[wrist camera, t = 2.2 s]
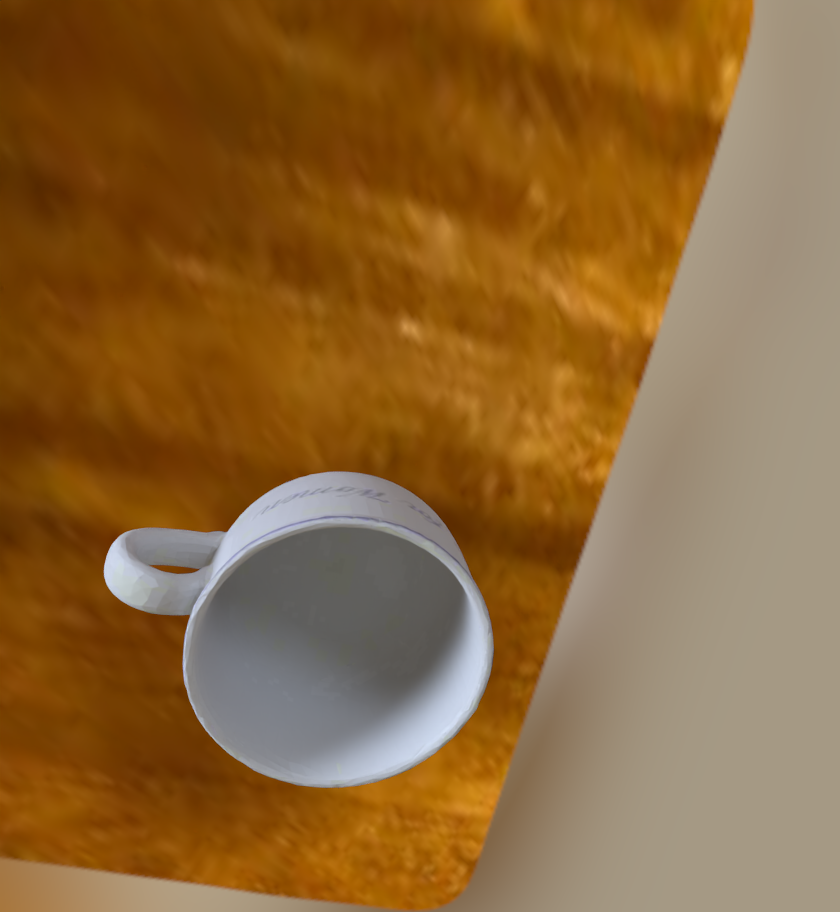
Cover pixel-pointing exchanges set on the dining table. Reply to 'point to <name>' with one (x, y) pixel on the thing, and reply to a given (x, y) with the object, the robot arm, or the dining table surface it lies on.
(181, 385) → the dining table surface
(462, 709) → the teacup
